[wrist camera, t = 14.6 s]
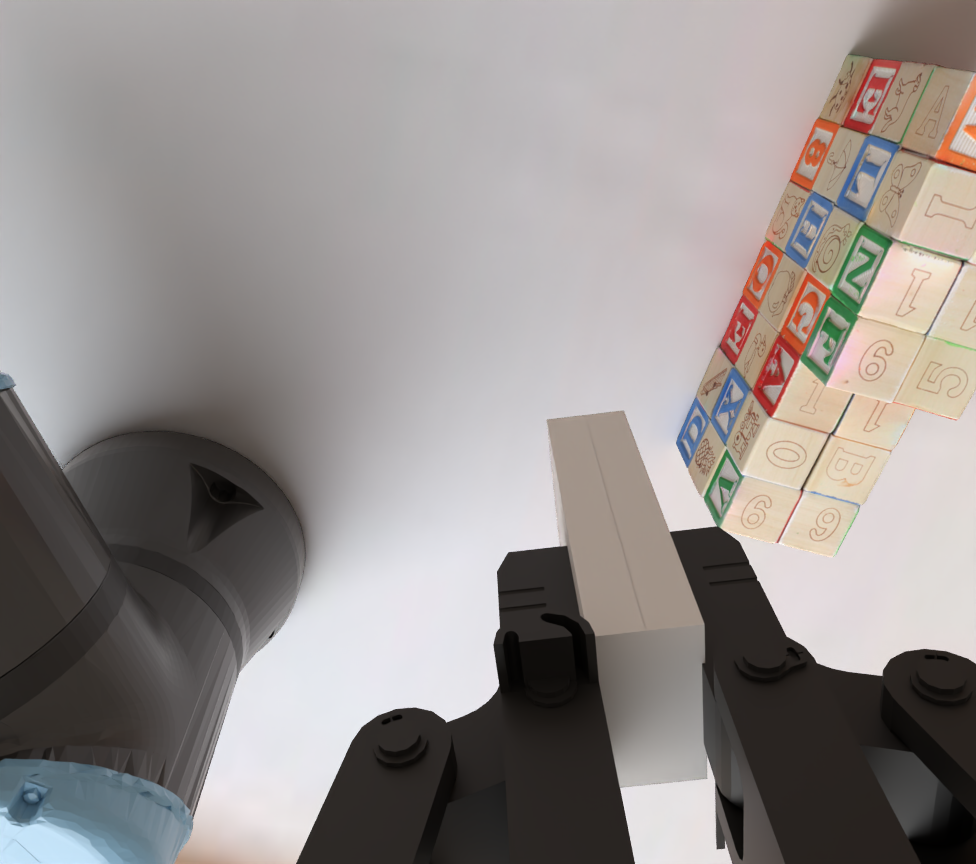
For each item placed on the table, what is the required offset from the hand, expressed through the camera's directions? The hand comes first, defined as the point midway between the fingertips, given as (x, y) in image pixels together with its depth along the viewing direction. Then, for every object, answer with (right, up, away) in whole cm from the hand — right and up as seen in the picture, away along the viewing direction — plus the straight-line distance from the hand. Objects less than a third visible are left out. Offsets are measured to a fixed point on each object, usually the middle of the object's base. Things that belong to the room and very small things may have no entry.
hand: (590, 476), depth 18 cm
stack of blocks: (+15, +9, +29) cm, 34 cm away
